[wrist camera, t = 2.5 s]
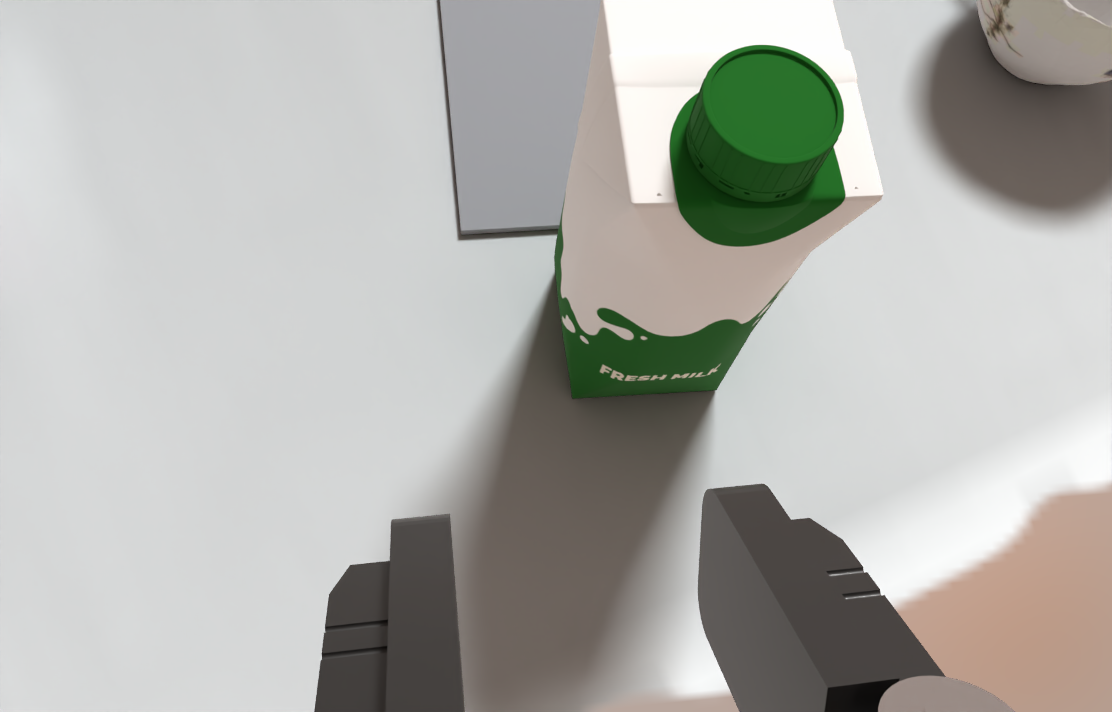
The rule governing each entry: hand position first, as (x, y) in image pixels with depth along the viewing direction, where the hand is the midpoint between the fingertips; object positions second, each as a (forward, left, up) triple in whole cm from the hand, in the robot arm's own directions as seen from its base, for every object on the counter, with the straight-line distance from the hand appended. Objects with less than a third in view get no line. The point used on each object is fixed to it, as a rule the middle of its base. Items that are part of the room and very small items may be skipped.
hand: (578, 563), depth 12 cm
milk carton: (+8, +15, -28) cm, 33 cm away
